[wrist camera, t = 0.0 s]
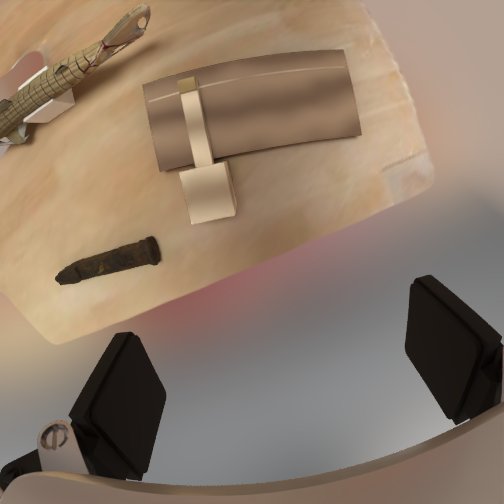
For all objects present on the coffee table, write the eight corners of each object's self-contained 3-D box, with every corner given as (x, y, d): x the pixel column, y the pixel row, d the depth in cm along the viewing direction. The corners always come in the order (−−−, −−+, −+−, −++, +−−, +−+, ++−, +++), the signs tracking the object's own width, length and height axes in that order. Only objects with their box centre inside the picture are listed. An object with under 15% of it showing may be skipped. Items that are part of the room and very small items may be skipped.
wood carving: (179, 63, 32) (156, 35, 22) (4, 164, 35) (-40, 174, 24) (164, 15, 29) (140, -21, 19) (-5, 121, 32) (-47, 123, 22)
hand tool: (156, 232, 40) (145, 241, 36) (163, 258, 42) (154, 270, 37) (59, 256, 41) (44, 266, 37) (66, 278, 42) (53, 289, 38)
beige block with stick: (174, 91, 34) (160, 80, 27) (211, 82, 33) (204, 68, 27) (200, 212, 39) (191, 225, 33) (237, 204, 39) (235, 215, 32)
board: (148, 88, 33) (142, 84, 31) (337, 54, 32) (343, 49, 29) (165, 170, 37) (159, 172, 35) (355, 135, 36) (362, 135, 33)
